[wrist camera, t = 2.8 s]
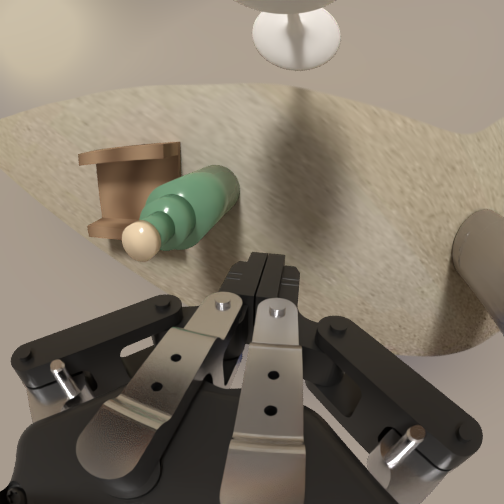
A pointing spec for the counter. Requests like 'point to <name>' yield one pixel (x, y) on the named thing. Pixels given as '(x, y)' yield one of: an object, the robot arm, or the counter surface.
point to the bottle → (181, 212)
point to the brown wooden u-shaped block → (129, 182)
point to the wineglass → (294, 32)
